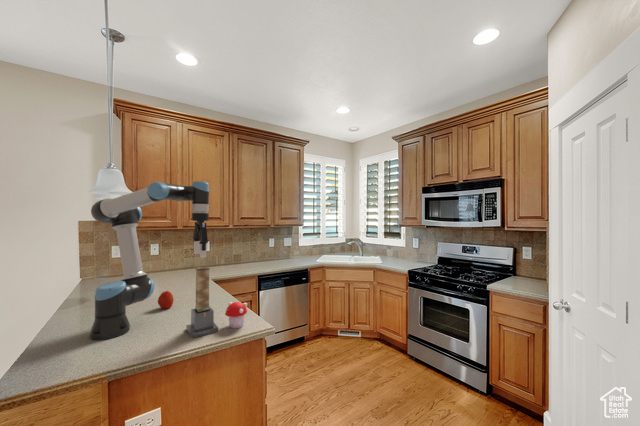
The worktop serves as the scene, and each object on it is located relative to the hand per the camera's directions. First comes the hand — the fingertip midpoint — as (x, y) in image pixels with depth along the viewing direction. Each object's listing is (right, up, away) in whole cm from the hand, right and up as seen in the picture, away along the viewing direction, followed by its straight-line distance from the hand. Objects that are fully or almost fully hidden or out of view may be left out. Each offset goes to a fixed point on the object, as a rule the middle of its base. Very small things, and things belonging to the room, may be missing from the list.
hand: (199, 255), depth 134 cm
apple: (-34, -37, +30) cm, 59 cm away
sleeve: (+2, -36, -2) cm, 36 cm away
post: (+2, -26, -2) cm, 26 cm away
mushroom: (+17, -37, +4) cm, 41 cm away
